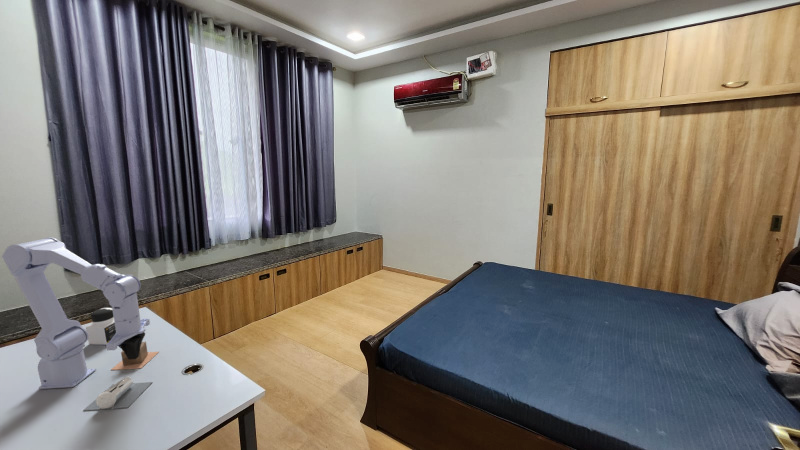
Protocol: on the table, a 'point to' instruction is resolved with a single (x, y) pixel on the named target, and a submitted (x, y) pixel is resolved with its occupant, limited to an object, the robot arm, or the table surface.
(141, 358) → the walnut block
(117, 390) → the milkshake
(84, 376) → the robot arm
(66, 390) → the table surface
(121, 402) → the tile slate
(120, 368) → the tile terracotta
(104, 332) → the medicine bottle
